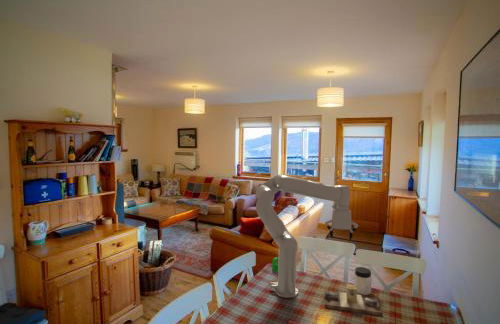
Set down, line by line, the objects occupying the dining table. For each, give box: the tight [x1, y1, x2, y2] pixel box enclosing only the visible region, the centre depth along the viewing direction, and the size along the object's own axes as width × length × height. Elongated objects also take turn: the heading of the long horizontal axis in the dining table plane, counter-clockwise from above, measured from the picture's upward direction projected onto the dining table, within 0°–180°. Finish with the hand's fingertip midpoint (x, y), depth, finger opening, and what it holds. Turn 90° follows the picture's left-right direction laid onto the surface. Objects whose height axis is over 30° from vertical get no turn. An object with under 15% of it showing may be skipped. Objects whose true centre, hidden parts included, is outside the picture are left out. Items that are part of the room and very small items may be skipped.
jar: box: [353, 266, 372, 296], centre depth 158 cm, size 9×8×12 cm
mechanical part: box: [271, 256, 278, 274], centre depth 184 cm, size 12×6×8 cm, turn 125°
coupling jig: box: [324, 290, 383, 316], centre depth 145 cm, size 26×14×4 cm, turn 76°
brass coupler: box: [345, 283, 358, 303], centre depth 145 cm, size 5×6×7 cm
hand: (340, 238), depth 159 cm, fingers open, 9 cm apart
